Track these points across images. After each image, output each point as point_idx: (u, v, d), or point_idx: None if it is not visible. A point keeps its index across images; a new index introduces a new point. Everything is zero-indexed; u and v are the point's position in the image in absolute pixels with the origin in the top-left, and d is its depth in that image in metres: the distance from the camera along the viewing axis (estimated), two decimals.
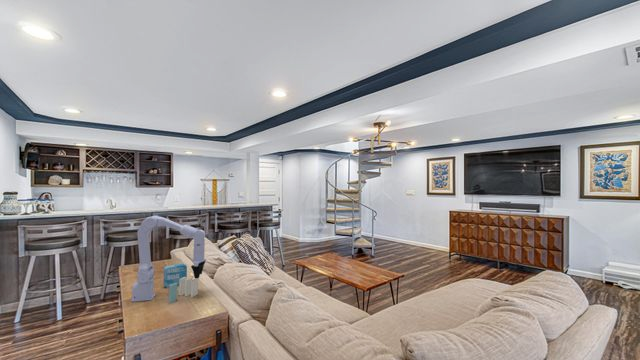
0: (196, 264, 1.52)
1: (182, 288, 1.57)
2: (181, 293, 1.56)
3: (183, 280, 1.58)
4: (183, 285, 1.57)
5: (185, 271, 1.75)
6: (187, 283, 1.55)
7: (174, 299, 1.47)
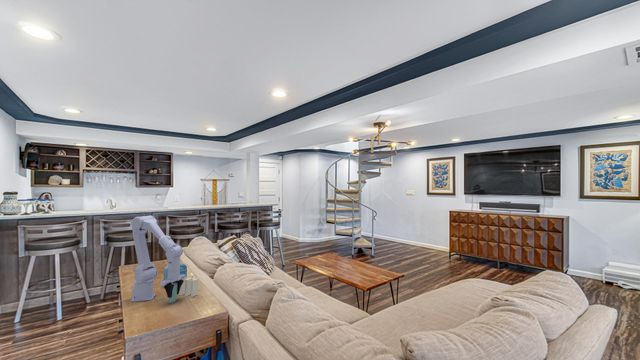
0: (162, 284, 1.41)
1: (182, 288, 1.57)
2: (181, 293, 1.56)
3: None
4: (183, 285, 1.57)
5: (185, 271, 1.75)
6: (187, 283, 1.55)
7: (174, 299, 1.47)
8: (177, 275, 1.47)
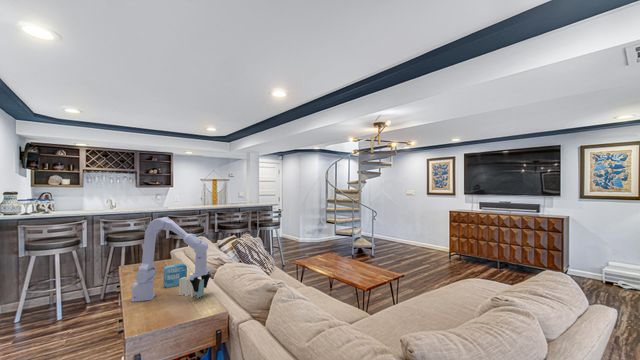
0: (191, 278, 1.47)
1: (182, 288, 1.57)
2: (181, 293, 1.56)
3: (183, 280, 1.58)
4: (183, 285, 1.57)
5: (185, 271, 1.75)
6: (187, 283, 1.55)
7: (201, 294, 1.54)
8: (204, 270, 1.53)
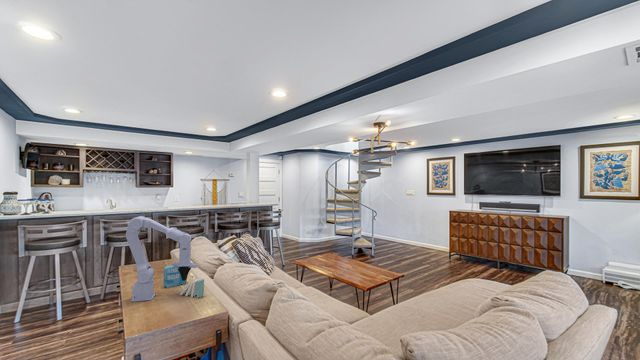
0: None
1: (186, 290, 1.56)
2: (182, 294, 1.56)
3: None
4: None
5: None
6: (192, 285, 1.54)
7: (201, 294, 1.54)
8: (181, 261, 1.55)
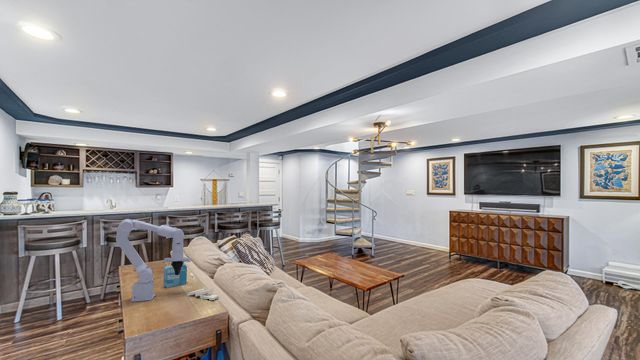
0: None
1: (194, 293, 1.55)
2: (189, 295, 1.55)
3: (201, 291, 1.55)
4: None
5: (185, 271, 1.75)
6: (206, 293, 1.51)
7: None
8: (174, 256, 1.57)
